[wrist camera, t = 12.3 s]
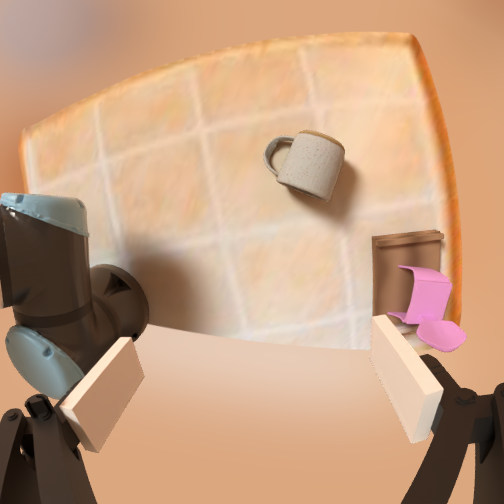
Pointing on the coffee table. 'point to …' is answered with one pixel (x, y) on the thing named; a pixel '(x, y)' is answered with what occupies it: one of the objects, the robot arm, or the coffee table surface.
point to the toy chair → (431, 310)
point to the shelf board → (401, 270)
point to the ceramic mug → (309, 163)
